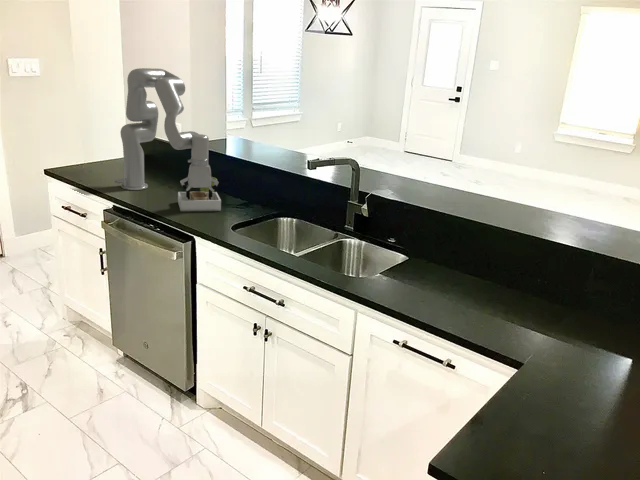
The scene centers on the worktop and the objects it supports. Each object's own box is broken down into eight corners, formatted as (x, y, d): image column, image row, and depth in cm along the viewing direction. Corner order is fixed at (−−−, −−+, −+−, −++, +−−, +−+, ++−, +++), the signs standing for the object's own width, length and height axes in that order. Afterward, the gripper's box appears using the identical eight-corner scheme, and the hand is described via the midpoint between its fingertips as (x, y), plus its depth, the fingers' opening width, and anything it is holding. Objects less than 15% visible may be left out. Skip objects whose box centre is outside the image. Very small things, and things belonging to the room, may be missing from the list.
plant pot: (193, 196, 268) (193, 179, 265) (203, 192, 276) (204, 175, 273) (210, 199, 265) (210, 182, 262) (220, 195, 273) (220, 178, 270)
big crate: (180, 211, 243) (180, 200, 242) (177, 202, 256) (177, 192, 254) (220, 211, 249) (221, 200, 248) (216, 202, 262) (216, 192, 260)
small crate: (192, 208, 247) (192, 197, 245) (190, 201, 255) (190, 191, 254) (208, 208, 249) (208, 197, 247) (205, 201, 258) (205, 191, 256)
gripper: (180, 163, 239) (180, 201, 245) (220, 164, 245) (219, 201, 251) (179, 160, 246) (179, 196, 252) (217, 160, 251) (216, 196, 257)
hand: (199, 198), depth 251 cm, fingers open, 9 cm apart
